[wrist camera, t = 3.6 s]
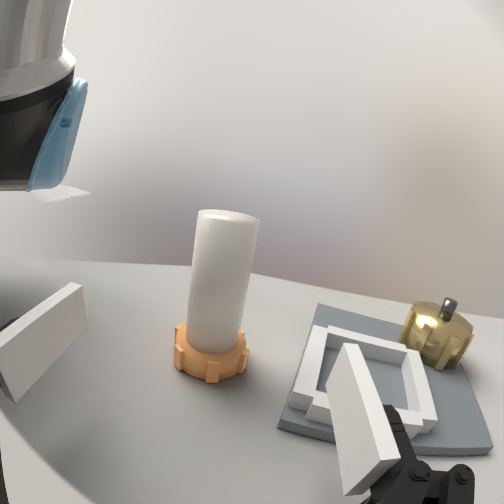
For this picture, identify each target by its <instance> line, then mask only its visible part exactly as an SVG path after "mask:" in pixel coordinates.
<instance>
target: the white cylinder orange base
mask: <svg viewBox="0 0 504 504" xmlns="http://www.w3.org/2000/svg"><path fill="white" fill-rule="evenodd" d="M259 224H260V221H259V220H258V219H256V218H254V217H252V216H249V215H246V214H242V213H237V212H232V211H225V210H201V211H199V213H198V220H197V228H196V236H195V244H194V252H193V261H192V270H191V279H190V289H189V300H188V311H187V323H186V324H182V323H181V324H180V325H178V326H177V327H176V328H175V345H174V365H175V366H176V367H177V369H178V370H179V371H180V370H184V371H185V372H186V373H188V374H190V375H191V376H194V377H196V378H199V379H204V380H205V381H206V383H218V380H223V379H227V378H230V377H232V376H233V375H235V374H236V373H237V372H238V373H242V372H243V370H244V369H245V367H246V362H247V358H248V353H249V349H248V348H245V347H246V340H245V338H244V332H243V331H242V330H240V325H241V319H242V314H243V309H244V304H245V298H246V293H247V288H248V283H249V277H250V272H251V267H252V262H253V256H254V251H255V246H256V240H257V235H258V230H259Z"/></svg>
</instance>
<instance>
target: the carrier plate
mask: <svg viewBox="0 0 504 504" xmlns="http://www.w3.org/2000/svg"><path fill="white" fill-rule="evenodd" d="M402 328H403V326H402V325H399V324H395V323H391V322H387V321H383V320H379V319H375V318H371V317H368V316H364V315H360V314H356V313H353V312H349V311H345V310H342V309H338V308H334V307H331V306H327V305H324V304H320V303H318V305H317V308H316V312H315V315H314V319H313V322H312V326H311V329H310V332H309V336H308V339H307V342H306V345H305V349H304V352H303V355H302V358H301V361H300V364H299V367H298V370H297V373H296V376H295V379H294V382H293V385H292V388H291V391H290V394H289V397H288V399H287V402H286V405H285V408H284V410H283V413H282V416H281V418H280V421H279V424H278V426H277V428H280V429H284V430H287V431H290V432H294V433H297V434H301V435H305V436H309V437H313V438H317V439H321V440H325V441H330V442H334V443H336V441H335V435H334V429H333V423H332V418H331V412H330V407H329V401H328V396H327V391H326V386H325V384H326V382H327V380H328V378H329V375H330V373H331V371H332V369H333V366H334V364H335V362H336V359H337V357H338V355H339V352H340V350H341V347H342V345H343V343H351V344H358V346H359V348H360V350H361V353H362V355H363V358H364V360H365V362H366V365H367V367H368V370H369V372H370V375H371V377H372V380H373V382H374V385H375V387H376V390H377V392H378V395H379V398H380V400H381V403H382V405H392V406H393V407H394V408H395V409H396V410H397V411H398V413H399V414H400V417H401V419H402V422H403V423H402V424H404V427H405V429H406V430H405V432H407V434H408V437H409V440H410V442H411V445H412V447H413V450H414V453H415V454H418V455H438V456H467V455H486V454H487V453H488V452H489V451H490V450H491V449H492V448H493V443H492V440H491V437H490V434H489V431H488V428H487V426H486V423H485V420H484V417H483V415H482V412H481V410H480V407H479V404H478V402H477V400H476V397H475V395H474V392H473V390H472V388H471V385H470V383H469V381H468V379H467V377H466V374H465V372H464V370H463V368H462V366H461V364H459V365H458V367H456V368H453V367H452V368H449V369H443V370H442V371H440V370H435V369H434V368H432V367H429V366H427V365H424V364H422V361H421V357H420V354H419V351H415V350H411V349H406V346H405V344H400V343H399V342H398V337H399V335H400V333H401V330H402Z"/></svg>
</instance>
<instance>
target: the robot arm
mask: <svg viewBox="0 0 504 504" xmlns="http://www.w3.org/2000/svg"><path fill="white" fill-rule="evenodd" d="M72 1H73V0H0V191H27V192H30V191H31V190H36V189H50V188H53V187H56V186H57V185H58V184H60V183H61V181H62V180H63V178H64V177H65V174H66V172H67V168H68V166H69V162H70V158H71V155H72V151H73V147H74V143H75V139H76V136H77V132H78V128H79V124H80V120H81V116H82V112H83V108H84V104H85V100H86V95H87V87H88V83H87V81H86V80H82V79H81V78H76V79H73V75H74V67H75V59H74V57H73V56H72V55H71V54H70V53H69V52H68V51H67V50H66V49H65V48H64V46H63V41H64V36H65V31H66V26H67V21H68V17H69V12H70V8H71V5H72ZM86 330H87V327H86V319H85V311H84V302H83V290H82V285H79V284H76V283H73V282H71V283H69V284H68V285H66V286H65V287H63V288H62V289H60V290H59V291H57V292H56V293H54V294H53V295H51V296H50V297H48V298H47V299H46V300H44V301H43V302H41V303H40V304H38V305H37V306H35V307H34V308H33V309H31V310H30V311H28V312H27V313H26V314H24V315H23V316H22V317H18V318H16V319H13V320H11V321H9V322H8V323H7V324H5V325H4V327H1V328H0V386H1V388H2V390H3V392H4V394H5V396H6V397H8V398H9V399H10V400H12V401H13V402H14V403H17V402H18V401H19V400H20V399H21V398H22V396H23V395H24V394H25V393H26V392H27V391H28V390H29V389H30V388H31V387H32V385H33V384H34V383H35V382H36V381H37V380H38V379H39V378H40V377H41V376H42V375H43V374H44V373H45V372H46V371H47V369H48V368H49V367H50V366H51V365H52V364H53V363H54V362H55V361H56V360H57V359H58V358H59V357H60V356H61V355H62V354H63V353H64V352H65V351H66V350H67V349H68V348H69V347H70V346H71V345H72V344H73V343H74V342H75V341H76V340H77V339H78V338H79V337H80V336H81V335H82V334H83V333H84V332H85V331H86ZM325 386H326V391H327V396H328V401H329V407H330V412H331V418H332V423H333V429H334V435H335V441H336V447H337V453H338V459H339V466H340V472H341V479H342V486H343V493H344V496H350V495H360V494H363V493H364V492H366V491H367V490H368V489H369V488H370V490H371V496H369V497H368V498H367V499H366V500H364V501H363V502H362V503H361V504H474V488H475V477H474V473H473V471H472V469H471V468H469V467H468V466H467V465H464V464H457V465H455V466H453V467H452V468H451V469H450V470H449V471H448V472H447V471H434V470H431V468H430V467H429V465H428V464H426V463H425V462H423V461H420V460H417V458H416V456H415V453H414V450H413V447H412V445H411V442H410V440H409V437H408V434H407V432H405V430H406V429H405V427H404V424H402V423H403V422H402V419H401V417H400V414H399V413H398V411H397V410H396V409H395V408H394V407H393V406H392V405H382V403H381V400H380V398H379V395H378V392H377V390H376V387H375V385H374V382H373V380H372V377H371V375H370V372H369V370H368V367H367V365H366V362H365V360H364V358H363V355H362V353H361V350H360V348H359V346H358V344H351V343H343V345H342V347H341V350H340V352H339V355H338V357H337V359H336V362H335V364H334V366H333V369H332V371H331V373H330V375H329V378H328V380H327V382H326V384H325ZM0 504H9V502H8V498H7V493H6V488H5V482H4V477H3V470H2V461H1V451H0Z"/></svg>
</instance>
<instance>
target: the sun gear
mask: <svg viewBox="0 0 504 504" xmlns="http://www.w3.org/2000/svg"><path fill="white" fill-rule="evenodd" d="M457 304H458V303H457V302H456V301H455V300H453V299H451V298H445V300H444V303H443V305H442V306H441V305H438V304H435V303H429V302H418V301H417V302H414V303H413V306H412V308H411V309H410V311H409V314H408V316H407V319H406V321H405V323H404V326H403V328H402V330H401V333H400V335H399V337H398V342H399V343H400V344H405V346H406V349H411V350H415V351H419V354H420V357H421V361H422V364H424V365H427V366H429V367H432V368H434V369H435V370H440V371H442V370H443V369H449V368H452V367H453V368H456V367H458V365H459V364H460V362H461V360H462V358H463V357H464V355H465V353H466V351H467V349H468V347H469V345H470V343H471V342H472V340H473V338H474V335H473V334H472V330H473V326H472V325H471V324H470V323H469V322H468V321H467V320H466V319H464V318H463V317H462V316H460V315H459V314H458V313H456V312H455V309H456V306H457Z"/></svg>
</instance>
